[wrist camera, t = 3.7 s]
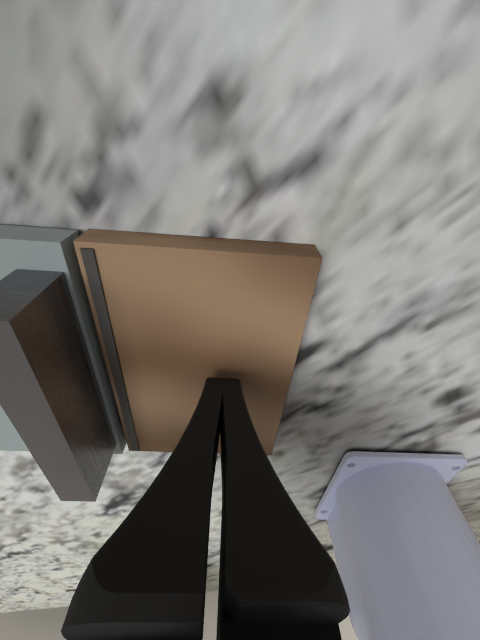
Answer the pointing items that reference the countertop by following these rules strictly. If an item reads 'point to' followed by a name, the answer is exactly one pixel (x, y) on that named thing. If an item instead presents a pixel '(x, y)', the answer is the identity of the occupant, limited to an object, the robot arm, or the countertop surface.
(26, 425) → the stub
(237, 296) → the board
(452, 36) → the countertop surface
